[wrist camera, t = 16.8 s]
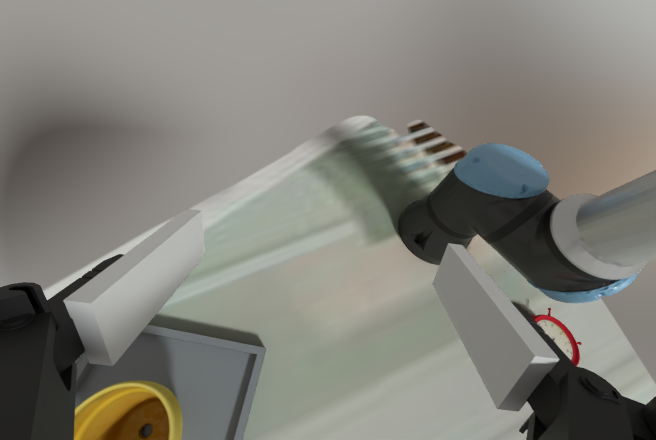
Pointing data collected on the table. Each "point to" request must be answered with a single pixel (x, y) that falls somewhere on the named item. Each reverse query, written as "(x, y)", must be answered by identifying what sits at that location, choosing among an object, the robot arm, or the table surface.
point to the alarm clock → (559, 335)
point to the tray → (186, 378)
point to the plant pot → (129, 413)
